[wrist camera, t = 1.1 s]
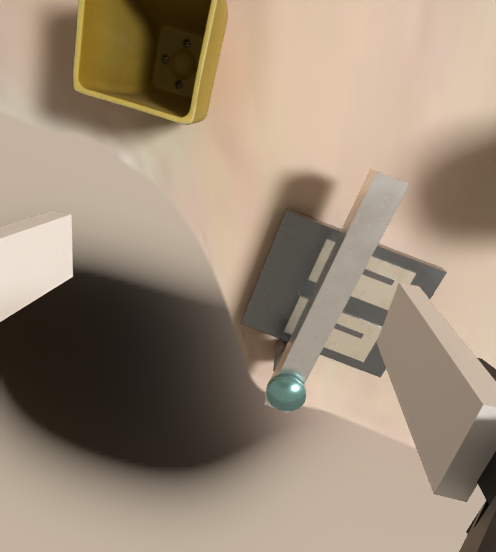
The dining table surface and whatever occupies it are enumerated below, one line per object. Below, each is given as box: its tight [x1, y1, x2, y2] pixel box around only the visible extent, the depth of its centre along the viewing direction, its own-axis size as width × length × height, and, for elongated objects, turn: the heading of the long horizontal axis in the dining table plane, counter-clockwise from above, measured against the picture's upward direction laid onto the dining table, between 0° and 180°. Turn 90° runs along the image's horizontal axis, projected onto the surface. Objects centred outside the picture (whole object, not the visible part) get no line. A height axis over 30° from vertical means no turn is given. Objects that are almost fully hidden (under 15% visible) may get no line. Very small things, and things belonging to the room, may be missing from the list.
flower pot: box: [73, 0, 228, 125], centre depth 27 cm, size 9×9×9 cm
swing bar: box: [265, 169, 409, 413], centre depth 30 cm, size 23×4×3 cm, turn 160°
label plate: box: [241, 209, 447, 377], centre depth 36 cm, size 16×13×2 cm
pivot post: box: [273, 339, 288, 371], centre depth 38 cm, size 3×3×4 cm
